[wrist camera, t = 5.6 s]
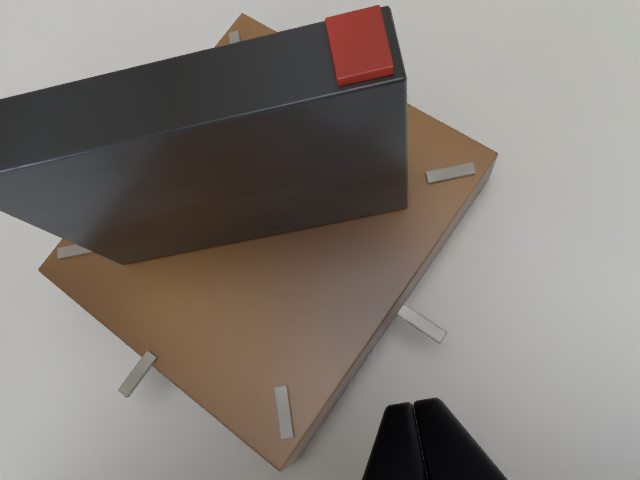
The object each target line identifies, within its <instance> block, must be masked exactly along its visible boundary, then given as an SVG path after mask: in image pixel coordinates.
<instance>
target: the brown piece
mask: <svg viewBox="0 0 640 480" xmlns="http://www.w3.org/2000/svg"><path fill="white" fill-rule="evenodd" d="M273 33H277V32H276V31H274V30H272V29H270V28H269V27H267V26H265V25H263V24H261V23H259V22H258V21H256V20H254V19H252V18H250V17H249V16H247V15H245V14H243V13H242V14H241V15H240V16H239V17H238V19H237V20H236V21H235V22H234V24H233V25H232V26H231V27H230V29H229V30H228V31H227V33H226V34H225V35H224V36H223V38H222V39H221V40H220V41H219V43H218V44H217V45H216V46H215V47H219V46H223V45H227V44H232V43H236V42H240V41H244V40H248V39H252V38H256V37H261V36H265V35H269V34H273ZM407 144H408V207H407V208H404V209H399V210H394V211H389V212H384V213H379V214H374V215H369V216H364V217H359V218H354V219H349V220H344V221H339V222H334V223H329V224H324V225H319V226H314V227H309V228H304V229H299V230H294V231H289V232H284V233H279V234H274V235H269V236H264V237H259V238H254V239H249V240H244V241H239V242H234V243H229V244H224V245H219V246H215V247H210V248H205V249H200V250H195V251H190V252H185V253H180V254H175V255H170V256H165V257H160V258H155V259H150V260H145V261H140V262H135V263H130V264H125V265H122V264H119V263H117V262H115V261H113V260H110V259H108V258H106V257H103V256H101V255H99V254H97V253H94V252H92V251H90V250H88V249H85V248H83V247H81V246H79V245H76V244H74V243H72V242H70V241H67V240H65V239H62V240H61V241H60V243H59V244H58V245H57V246H56V248H55V249H54V250H53V251H52V253H51V254H50V255H49V256H48V258H47V259H46V260H45V262H44V263H43V264H42V265H41V267H40V268H39V269H38V270H39V272H41V273H42V274H43V275H44V276H45V277H47V278H48V279H49V280H50V281H51V282H53V283H54V284H55V285H56V286H57V287H59V288H60V289H61V290H62V291H63V292H65V293H66V294H67V295H68V296H69V297H71V298H72V299H73V300H74V301H75V302H77V303H78V304H79V305H80V306H81V307H83V308H84V309H85V310H86V311H87V312H89V313H90V314H91V315H92V316H93V317H95V318H96V319H97V320H98V321H99V322H101V323H102V324H103V325H104V326H105V327H107V328H108V329H109V330H110V331H111V332H113V333H114V334H115V335H116V336H117V337H119V338H120V339H121V340H122V341H123V342H125V343H126V344H127V345H128V346H129V347H131V348H132V349H133V350H134V351H135V352H137V353H138V354H139V355H140V356H141V357H142V358H141V360H140V361H139V362H138V364H137V365H136V366H135V368H134V369H133V370H132V372H131V373H130V374H129V376H128V377H127V379H126V380H125V381H124V383H123V384H122V385H121V387H120V388H119V389H118V391H119V392H121V393H122V394H123V395H124V396H125V397H129V396H130V395H131V394H132V392H133V391H134V390H135V388H136V387H137V386H138V384H139V383H140V382H141V380H142V379H143V377H144V376H145V375H146V373H147V372H148V371H149V369H150V368H151V367H152V366H153V367H155V368H156V369H157V370H158V371H159V372H161V373H162V374H163V375H164V376H165V377H167V378H168V379H169V380H170V381H171V382H173V383H174V384H175V385H176V386H177V387H179V388H180V389H181V390H182V391H183V392H185V393H186V394H187V395H188V396H189V397H191V398H192V399H193V400H194V401H195V402H197V403H198V404H199V405H200V406H201V407H203V408H204V409H205V410H206V411H207V412H209V413H210V414H211V415H212V416H213V417H215V418H216V419H217V420H218V421H219V422H221V423H222V424H223V425H224V426H225V427H227V428H228V429H229V430H230V431H231V432H233V433H234V434H235V435H236V436H237V437H239V438H240V439H241V440H242V441H243V442H245V443H246V444H247V445H248V446H249V447H251V448H252V449H253V450H254V451H255V452H257V453H258V454H259V455H260V456H261V457H263V458H264V459H265V460H266V461H267V462H269V463H270V464H271V465H272V466H273V467H275V468H276V469H277V470H278V471H281V470H283V469H285V468H286V467H288V466H290V465H291V464H293V463H295V462H296V460H297V459H298V457H299V456H300V455H301V453H302V452H303V450H304V449H305V447H306V446H307V444H308V443H309V441H310V440H311V438H312V437H313V436H314V434H315V433H316V431H317V430H318V428H319V427H320V425H321V424H322V422H323V421H324V419H325V418H326V417H327V415H328V414H329V412H330V411H331V409H332V408H333V406H334V405H335V403H336V402H337V400H338V399H339V397H340V396H341V395H342V393H343V392H344V390H345V389H346V387H347V386H348V384H349V383H350V381H351V380H352V378H353V377H354V376H355V374H356V373H357V371H358V370H359V368H360V367H361V365H362V364H363V362H364V361H365V359H366V358H367V357H368V355H369V354H370V352H371V351H372V349H373V348H374V346H375V345H376V343H377V342H378V340H379V339H380V338H381V336H382V335H383V333H384V332H385V330H386V329H387V327H388V326H389V324H390V323H391V321H392V320H393V318H394V317H395V316H396V314H397V315H398V316H399V317H401V318H402V319H404V320H405V321H407V322H408V323H410V324H411V325H413V326H414V327H416V328H417V329H419V330H420V331H422V332H423V333H424V334H426V335H427V336H429V337H430V338H432V339H433V340H435V341H436V342H438V343H440V342H441V341H442V339H443V338H444V336H445V335H446V333H447V332H446V331H444V330H443V329H441V328H440V327H438V326H437V325H435V324H434V323H432V322H431V321H429V320H428V319H426V318H425V317H423V316H422V315H420V314H419V313H417V312H416V311H414V310H413V309H411V308H410V307H408V306H407V305H405V304H404V302H405V301H406V299H407V298H408V297H409V295H410V294H411V292H412V291H413V289H414V288H415V286H416V285H417V283H418V282H419V280H420V279H421V278H422V276H423V275H424V273H425V272H426V270H427V269H428V267H429V266H430V264H431V263H432V261H433V260H434V258H435V257H436V256H437V254H438V253H439V251H440V250H441V248H442V247H443V245H444V244H445V242H446V241H447V239H448V238H449V237H450V235H451V234H452V232H453V231H454V229H455V228H456V226H457V225H458V223H459V222H460V220H461V219H462V218H463V216H464V215H465V213H466V212H467V210H468V209H469V207H470V206H471V204H472V203H473V201H474V200H475V199H476V197H477V196H478V194H479V193H480V191H481V190H482V188H483V187H484V185H485V184H486V182H487V181H488V179H489V177H490V175H491V172H492V169H493V167H494V164H495V161H496V158H497V156H498V153H497V152H495V151H493V150H491V149H489V148H488V147H486V146H484V145H482V144H480V143H478V142H477V141H475V140H473V139H471V138H469V137H467V136H466V135H464V134H462V133H460V132H458V131H457V130H455V129H453V128H451V127H449V126H447V125H446V124H444V123H442V122H440V121H438V120H436V119H435V118H433V117H431V116H429V115H427V114H426V113H424V112H422V111H420V110H418V109H416V108H415V107H413V106H411V105H409V104H407Z"/></svg>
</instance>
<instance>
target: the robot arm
mask: <svg viewBox="0 0 640 480" xmlns="http://www.w3.org/2000/svg"><path fill="white" fill-rule="evenodd" d="M414 411H415V413H414ZM415 416H416V418H415ZM416 421H417V423H416ZM417 427H418V428H417ZM418 432H419V433H418ZM419 437H420V438H419ZM420 442H421V443H420ZM421 447H422V448H421ZM422 452H423V453H422ZM423 457H424V458H423ZM424 462H425V463H424ZM425 467H426V468H425ZM426 472H427V474H426ZM427 477H428V479H427ZM362 480H507V478H506V477H505V476H504V475H503V474H502V472H501V471H500V470H499V469H498V468H497V466H496V465H495V464H494V463H493V462H492V460H491V459H490V458H489V457H488V456H487V454H486V453H485V452H484V451H483V450H482V448H481V447H480V446H479V445H478V444H477V442H476V441H475V440H474V439H473V438H472V436H471V435H470V434H469V433H468V432H467V430H466V429H465V428H464V427H463V426H462V424H461V423H460V422H459V421H458V420H457V418H456V417H455V416H454V415H453V414H452V412H451V411H450V410H449V409H448V408H447V406H446V405H445V404H444V403H443V402H442V401H441V400H440V399H439V398H430V399H424V400H418V401H416V402H414V408H413V405H412V404H411V403H409V402H406V403H400V404H394V405H389V406H387V407H386V409H385V411H384V414H383V417H382V420H381V423H380V426H379V430H378V433H377V436H376V439H375V442H374V445H373V448H372V451H371V454H370V457H369V460H368V463H367V466H366V469H365V472H364V476H363V479H362Z"/></svg>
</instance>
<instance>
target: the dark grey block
mask: <svg viewBox="0 0 640 480" xmlns="http://www.w3.org/2000/svg"><path fill="white" fill-rule="evenodd" d="M407 207H408V144H407V77H406V73H405V69H404V64H403V60H402V56H401V51H400V47H399V43H398V39H397V34H396V30H395V26H394V21H393V17H392V13H391V9H390V8H389V6H385V7H381V8H380V6H379V5H377V6H373V7H369V8H365V9H360V10H356V11H352V12H348V13H344V14H340V15H336V16H331V17H327V18H325V21H323V22H319V23H314V24H310V25H306V26H302V27H298V28H294V29H290V30H285V31H281V32H277V33H273V34H269V35H265V36H261V37H256V38H252V39H248V40H244V41H240V42H236V43H232V44H227V45H223V46H219V47H215V48H211V49H207V50H203V51H198V52H194V53H190V54H186V55H182V56H178V57H174V58H169V59H165V60H161V61H157V62H153V63H149V64H145V65H140V66H136V67H132V68H128V69H124V70H120V71H116V72H111V73H107V74H103V75H99V76H95V77H91V78H87V79H82V80H78V81H74V82H70V83H66V84H62V85H58V86H53V87H49V88H45V89H41V90H37V91H33V92H29V93H24V94H20V95H16V96H12V97H8V98H4V99H0V211H2V212H4V213H6V214H9V215H11V216H13V217H15V218H18V219H20V220H22V221H24V222H27V223H29V224H31V225H33V226H36V227H38V228H40V229H42V230H45V231H47V232H49V233H52V234H54V235H56V236H58V237H61V238H63V239H65V240H67V241H70V242H72V243H74V244H76V245H79V246H81V247H83V248H85V249H88V250H90V251H92V252H94V253H97V254H99V255H101V256H103V257H106V258H108V259H110V260H113V261H115V262H117V263H119V264H122V265H125V264H130V263H135V262H140V261H145V260H150V259H155V258H160V257H165V256H170V255H175V254H180V253H185V252H190V251H195V250H200V249H205V248H210V247H215V246H219V245H224V244H229V243H234V242H239V241H244V240H249V239H254V238H259V237H264V236H269V235H274V234H279V233H284V232H289V231H294V230H299V229H304V228H309V227H314V226H319V225H324V224H329V223H334V222H339V221H344V220H349V219H354V218H359V217H364V216H369V215H374V214H379V213H384V212H389V211H394V210H399V209H404V208H407Z"/></svg>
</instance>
